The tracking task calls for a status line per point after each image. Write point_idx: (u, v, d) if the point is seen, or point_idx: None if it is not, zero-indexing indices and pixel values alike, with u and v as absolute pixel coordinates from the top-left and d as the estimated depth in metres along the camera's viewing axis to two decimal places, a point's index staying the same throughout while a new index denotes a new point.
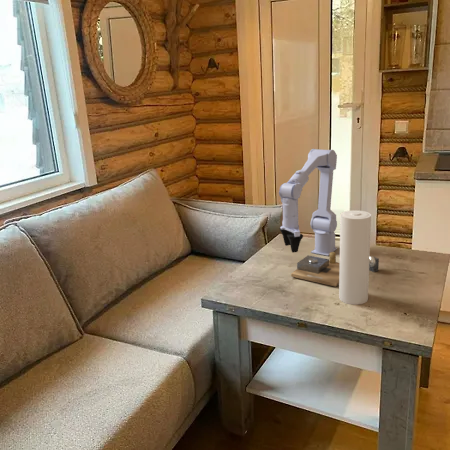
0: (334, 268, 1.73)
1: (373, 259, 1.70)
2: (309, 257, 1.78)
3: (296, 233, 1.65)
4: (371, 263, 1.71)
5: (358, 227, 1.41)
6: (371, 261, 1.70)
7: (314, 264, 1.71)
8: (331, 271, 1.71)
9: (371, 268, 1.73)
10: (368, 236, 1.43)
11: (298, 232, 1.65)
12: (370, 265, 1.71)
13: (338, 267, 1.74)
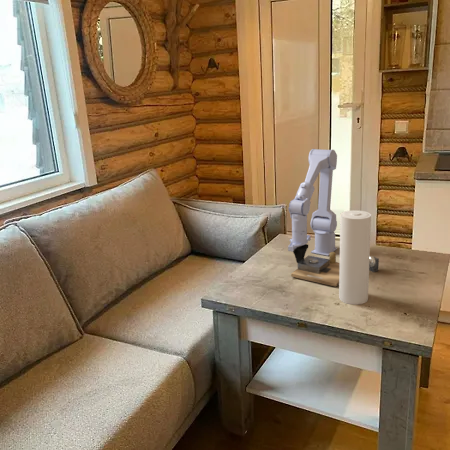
0: (334, 268, 1.73)
1: (373, 259, 1.70)
2: (310, 257, 1.78)
3: (289, 248, 1.71)
4: (371, 263, 1.71)
5: (358, 227, 1.41)
6: (371, 261, 1.70)
7: (314, 265, 1.71)
8: (331, 271, 1.71)
9: (371, 268, 1.73)
10: (368, 236, 1.43)
11: (291, 247, 1.70)
12: (370, 265, 1.71)
13: (338, 267, 1.74)
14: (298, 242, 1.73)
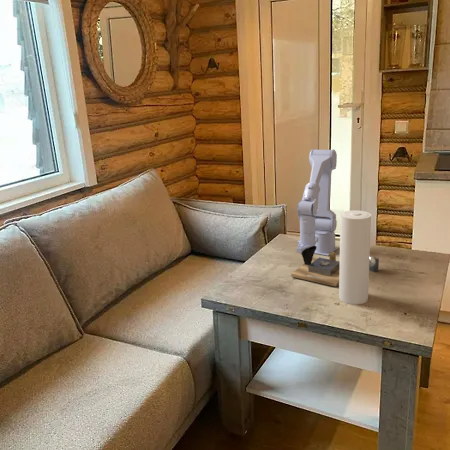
0: None
1: (373, 259, 1.70)
2: (320, 259, 1.76)
3: (297, 249, 1.69)
4: (371, 263, 1.71)
5: (358, 227, 1.41)
6: (371, 261, 1.70)
7: (325, 267, 1.68)
8: None
9: (371, 268, 1.73)
10: (368, 236, 1.43)
11: (299, 249, 1.68)
12: (370, 265, 1.71)
13: None
14: (306, 244, 1.71)
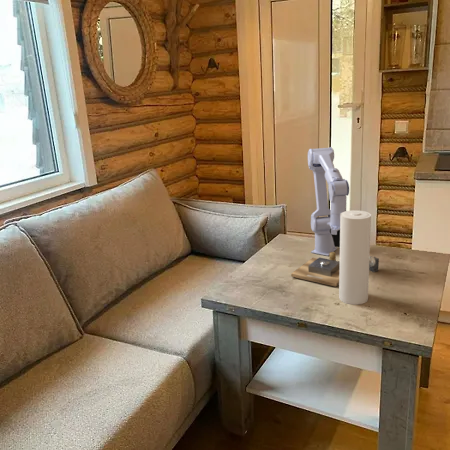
0: None
1: (373, 259, 1.70)
2: (320, 259, 1.76)
3: (332, 231, 1.65)
4: (371, 263, 1.71)
5: (358, 227, 1.41)
6: (371, 261, 1.70)
7: (325, 267, 1.68)
8: None
9: (371, 268, 1.73)
10: (368, 236, 1.43)
11: (334, 230, 1.65)
12: (370, 265, 1.71)
13: None
14: (339, 225, 1.68)
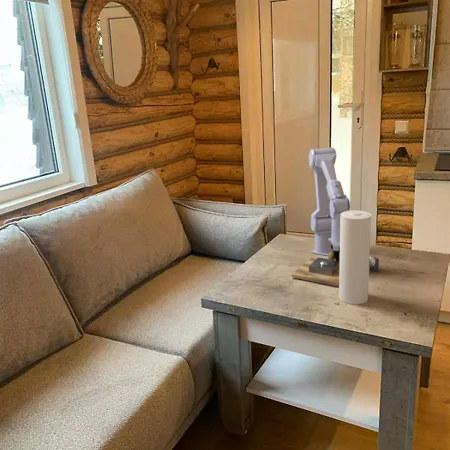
0: None
1: (373, 259, 1.70)
2: (320, 259, 1.75)
3: (334, 247, 1.68)
4: (371, 263, 1.71)
5: (358, 227, 1.41)
6: (371, 261, 1.70)
7: (326, 267, 1.68)
8: None
9: (371, 268, 1.73)
10: (368, 236, 1.43)
11: (336, 246, 1.68)
12: (370, 265, 1.71)
13: None
14: None
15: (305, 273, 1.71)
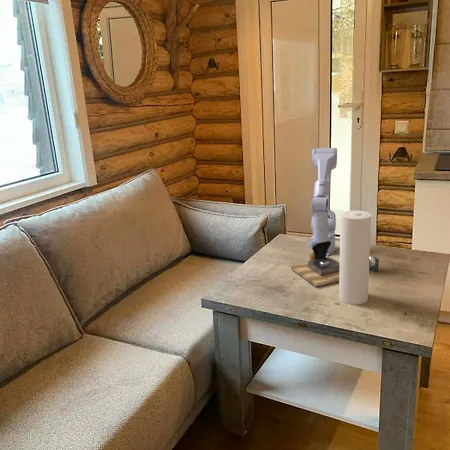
0: None
1: (373, 259, 1.70)
2: (314, 262, 1.74)
3: (308, 244, 1.72)
4: (371, 263, 1.71)
5: (358, 227, 1.41)
6: (371, 261, 1.70)
7: (333, 265, 1.70)
8: None
9: (371, 268, 1.73)
10: (368, 236, 1.43)
11: (310, 243, 1.72)
12: (370, 265, 1.71)
13: None
14: (318, 239, 1.74)
15: (321, 278, 1.66)
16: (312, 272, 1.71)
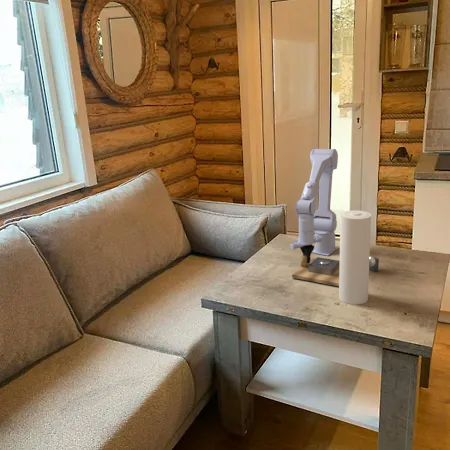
0: None
1: (373, 259, 1.70)
2: (314, 264, 1.71)
3: (290, 246, 1.73)
4: (371, 263, 1.71)
5: (358, 227, 1.41)
6: (371, 261, 1.70)
7: (333, 262, 1.72)
8: None
9: (371, 268, 1.73)
10: (368, 236, 1.43)
11: (292, 245, 1.72)
12: (370, 265, 1.71)
13: None
14: (302, 241, 1.73)
15: (335, 277, 1.66)
16: (319, 274, 1.69)
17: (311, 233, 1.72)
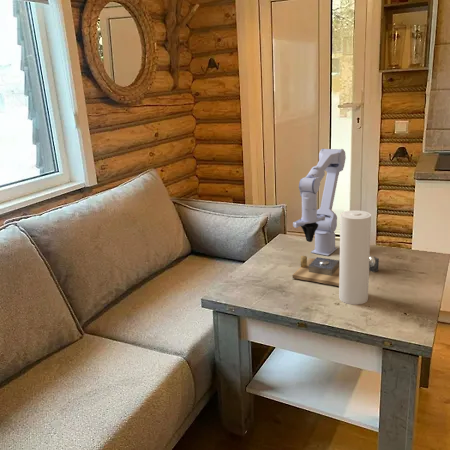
0: None
1: (373, 259, 1.70)
2: (314, 264, 1.71)
3: (293, 224, 1.74)
4: (371, 263, 1.71)
5: (358, 227, 1.41)
6: (371, 261, 1.70)
7: (333, 262, 1.72)
8: None
9: (371, 268, 1.73)
10: (368, 236, 1.43)
11: (295, 223, 1.74)
12: (370, 265, 1.71)
13: None
14: (305, 220, 1.75)
15: (335, 277, 1.66)
16: (319, 274, 1.69)
17: (314, 211, 1.74)
